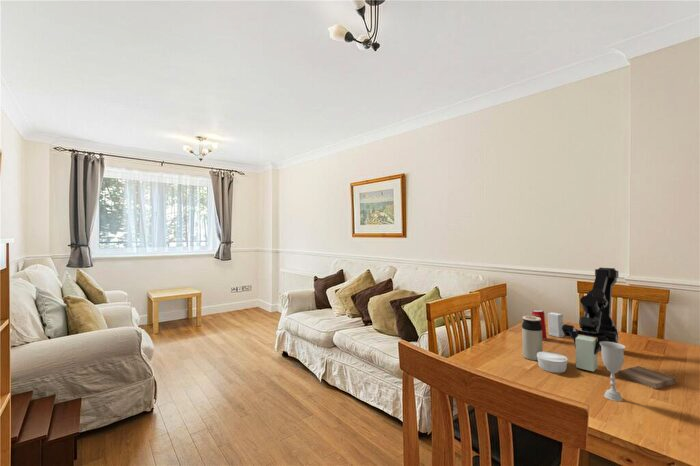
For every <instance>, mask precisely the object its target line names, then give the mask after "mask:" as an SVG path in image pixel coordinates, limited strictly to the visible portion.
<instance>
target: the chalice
mask: <svg viewBox="0 0 700 466" xmlns="http://www.w3.org/2000/svg"><path fill="white" fill-rule="evenodd" d="M599 343H600V345H601V350H600V351H601V352H600V353H601V360H602V362H603V364H604V366H605V368H606V370H607V371H608V372H610V376H609V378H610V381H609V384H610V386H611V387H610V388H608V389H606V390H605V393H604V394H603V397H604V398H606V399H608V400H611V401H614V402H623V398H622V395H621V393H620V392H619V391H618V390H617V389H616V385H617V383H616V382H615V381H616V375H615V374H616V373H619V371H620V370H621V368H622V367H623V364H624V361H625V357H624V355H625V352H624V350H625V349H626V346H625V345H624V344H622V343H619V342H618V343H614V342H607V341H602V342H599Z"/></svg>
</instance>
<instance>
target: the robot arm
mask: <svg viewBox="0 0 700 466" xmlns="http://www.w3.org/2000/svg"><path fill="white" fill-rule="evenodd" d="M594 277H595V279H594V281H593V285H592V289H591V290H589V291H588V292H587V294H586V295H584V296H582V297H581V298H580V301H579V302H580V304H581V307H582V310H583V312H584V316H579V317H578V319H579V321H578V324H579V328H580V329H578V328H576V327H575V326H574V325H572V324H568V323H567V324H566V323H563V326H562V331H563V333H564V336H566V337H569V338H570V339H572V340H573V343H574V347H575V350H576V344H575V338H576V337H578V336H579V335H582V336H588V337H593V338H597V343H596V347H595V350H594V354H595V355H596V354H597V355H598V353H599V352H600V351H601V345H600V343H599V342H602V341H607V342H614V343H619V332H618V329H617V327H616V325H615V322H614V320H613V318H612V317H611V314H612V313H611V312H612V297H613V295H612V293H613V287H614V285H615V284H616V283H617V280H618V278H619V270H617V269H616V267H615V268H614V267H613V268H612V267H599V268H596V269H595V268H594Z"/></svg>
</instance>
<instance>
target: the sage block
mask: <svg viewBox="0 0 700 466" xmlns="http://www.w3.org/2000/svg"><path fill="white" fill-rule="evenodd" d="M596 343H597V338H596V337H590V336H585V335H580V334H579V335H578V337H576V338H575V344H576V349H575V368H578V369H580V370H585V371H589V372H593V373H594V372H595V371H596V369H597V368H598V353H597V354H596V355H595V354H594V350H595V347H596ZM575 344H574V345H575Z"/></svg>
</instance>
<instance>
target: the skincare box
mask: <svg viewBox="0 0 700 466" xmlns="http://www.w3.org/2000/svg"><path fill="white" fill-rule="evenodd" d="M563 316H564V315H563V314H562V313H557V312H548V313H547V327H548V328H547V329H548V336H553V337H556V338H563V337H564V336H565V335H564V333H563V331H562V326H563V325H564V317H563Z"/></svg>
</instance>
